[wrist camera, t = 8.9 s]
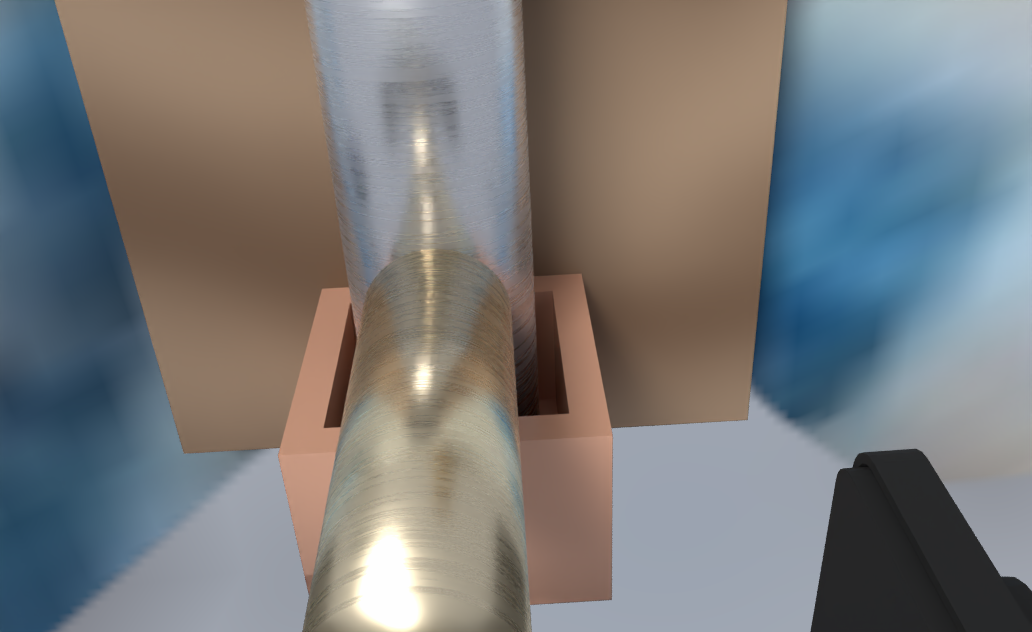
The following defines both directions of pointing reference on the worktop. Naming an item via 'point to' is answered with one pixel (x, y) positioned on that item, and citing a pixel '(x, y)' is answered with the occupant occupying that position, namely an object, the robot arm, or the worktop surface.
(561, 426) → the socket block
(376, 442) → the brushed metal peg
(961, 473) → the worktop surface
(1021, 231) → the worktop surface
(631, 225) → the base board
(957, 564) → the robot arm
